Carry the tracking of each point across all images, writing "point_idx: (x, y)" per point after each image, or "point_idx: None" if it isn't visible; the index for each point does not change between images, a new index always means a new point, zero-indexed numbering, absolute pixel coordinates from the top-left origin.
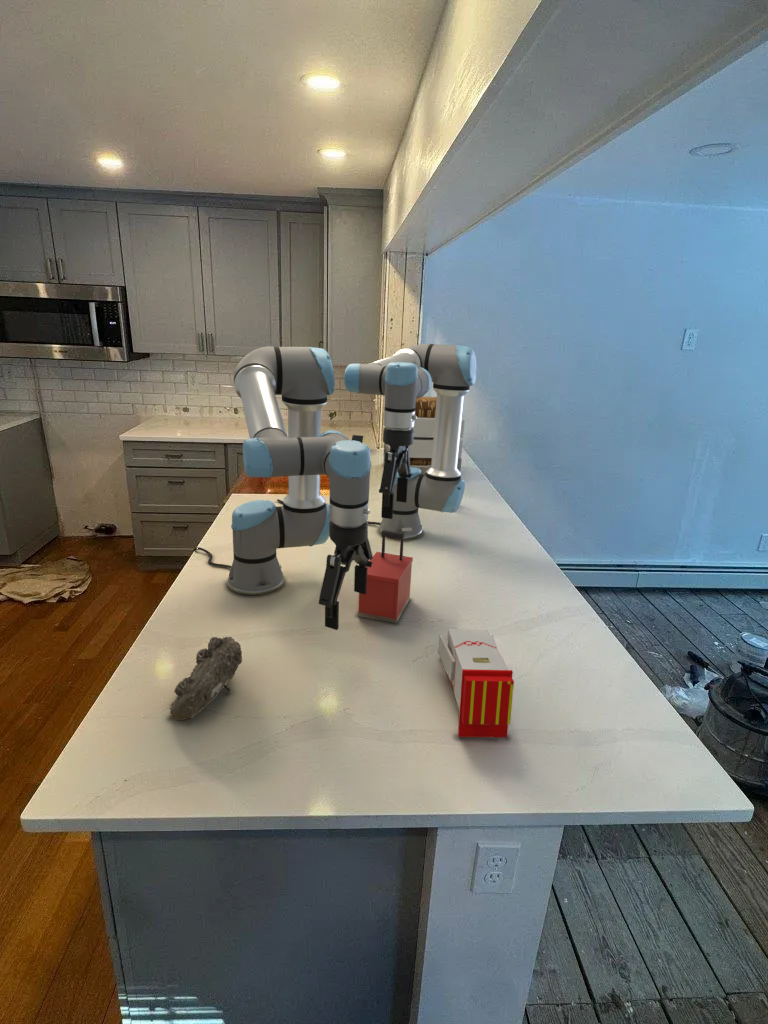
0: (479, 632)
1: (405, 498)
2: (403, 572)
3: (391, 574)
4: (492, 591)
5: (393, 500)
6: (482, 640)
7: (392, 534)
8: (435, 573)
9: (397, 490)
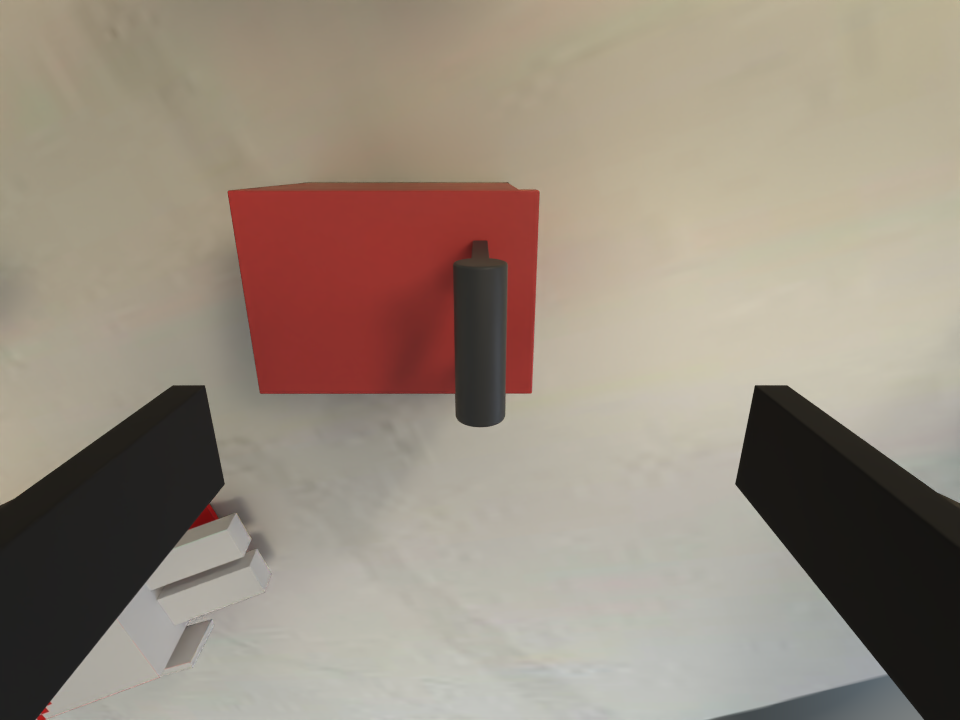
0: (124, 664)
1: (758, 506)
2: (345, 393)
3: (294, 349)
4: (651, 554)
5: (94, 641)
6: (69, 682)
7: (456, 348)
8: (747, 367)
9: (838, 462)
